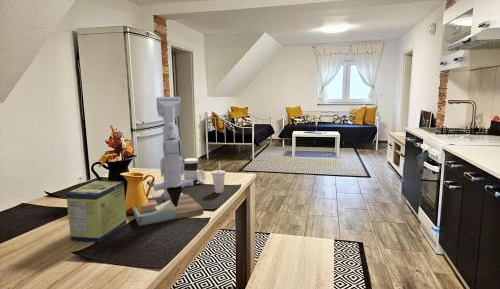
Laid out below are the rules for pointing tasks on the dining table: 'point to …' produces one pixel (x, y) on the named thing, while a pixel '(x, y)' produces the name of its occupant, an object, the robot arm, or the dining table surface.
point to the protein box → (96, 210)
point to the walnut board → (186, 206)
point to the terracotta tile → (149, 206)
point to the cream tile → (165, 207)
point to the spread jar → (193, 171)
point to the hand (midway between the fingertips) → (175, 206)
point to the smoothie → (218, 180)
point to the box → (153, 214)
